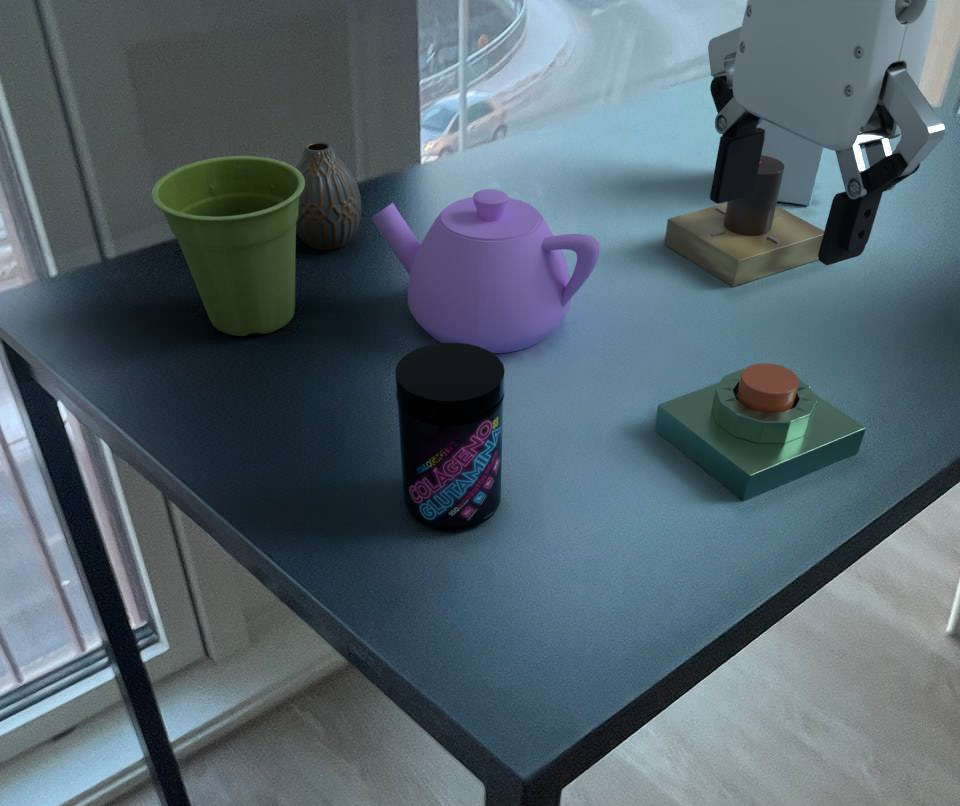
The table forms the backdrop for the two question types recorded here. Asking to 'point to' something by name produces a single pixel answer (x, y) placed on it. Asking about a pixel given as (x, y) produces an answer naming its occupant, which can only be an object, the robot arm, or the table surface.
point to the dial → (757, 201)
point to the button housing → (757, 436)
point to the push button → (767, 388)
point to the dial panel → (743, 244)
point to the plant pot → (237, 237)
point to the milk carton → (793, 162)
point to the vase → (327, 199)
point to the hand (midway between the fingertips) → (782, 227)
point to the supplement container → (451, 434)
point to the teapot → (488, 271)
